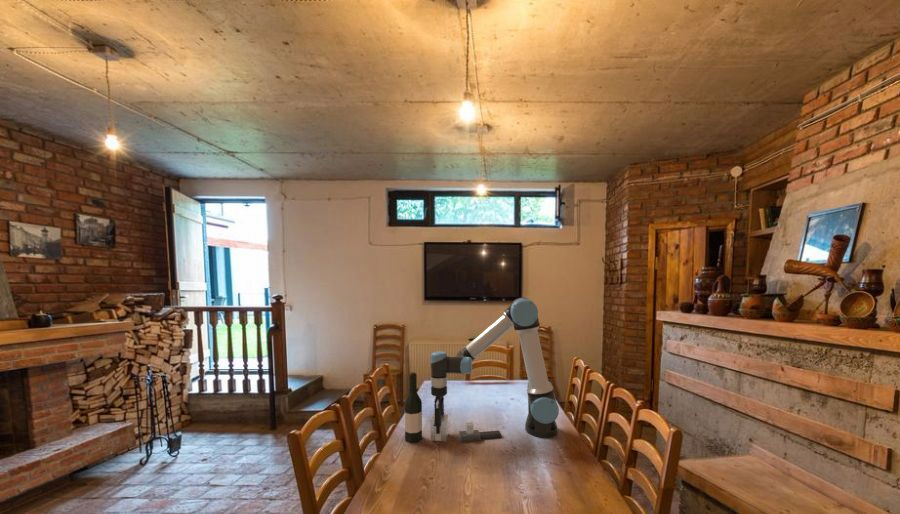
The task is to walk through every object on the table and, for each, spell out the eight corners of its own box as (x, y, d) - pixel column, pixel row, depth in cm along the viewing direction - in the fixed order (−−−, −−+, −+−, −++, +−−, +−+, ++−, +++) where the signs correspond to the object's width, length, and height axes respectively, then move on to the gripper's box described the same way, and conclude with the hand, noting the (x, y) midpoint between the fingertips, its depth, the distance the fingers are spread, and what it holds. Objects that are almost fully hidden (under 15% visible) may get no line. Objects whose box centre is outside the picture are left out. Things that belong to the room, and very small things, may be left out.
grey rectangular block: (448, 434, 155) (447, 414, 156) (446, 441, 148) (446, 420, 149) (433, 433, 156) (433, 414, 157) (430, 440, 149) (430, 420, 150)
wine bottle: (419, 443, 146) (418, 375, 149) (401, 442, 148) (401, 374, 150) (424, 435, 155) (423, 370, 157) (407, 433, 156) (407, 369, 159)
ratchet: (498, 433, 155) (498, 419, 156) (501, 438, 150) (501, 423, 150) (459, 436, 152) (458, 422, 153) (461, 442, 147) (460, 427, 148)
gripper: (434, 379, 164) (435, 426, 162) (427, 392, 144) (427, 446, 143) (449, 379, 163) (450, 426, 162) (444, 393, 143) (444, 447, 142)
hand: (439, 436), depth 152 cm, fingers closed on grey rectangular block, 7 cm apart
